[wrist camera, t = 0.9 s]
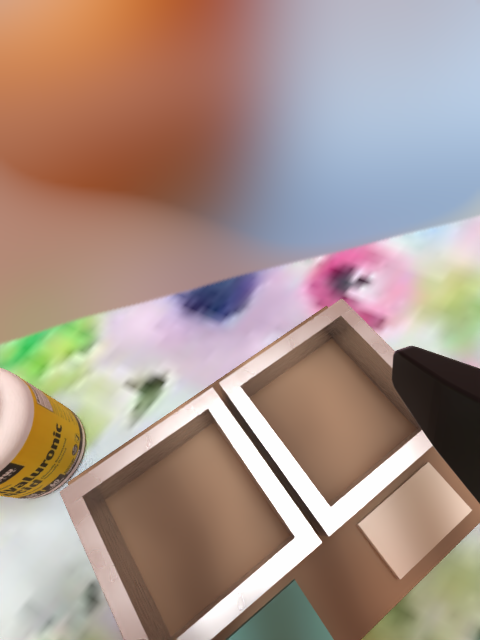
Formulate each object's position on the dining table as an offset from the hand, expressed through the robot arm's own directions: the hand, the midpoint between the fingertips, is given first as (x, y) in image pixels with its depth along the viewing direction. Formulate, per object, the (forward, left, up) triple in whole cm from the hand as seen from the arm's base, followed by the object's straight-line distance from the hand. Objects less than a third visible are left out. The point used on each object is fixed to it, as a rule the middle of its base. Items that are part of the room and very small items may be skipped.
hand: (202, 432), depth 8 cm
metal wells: (+1, -1, -14) cm, 14 cm away
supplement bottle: (0, +12, -16) cm, 20 cm away
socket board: (0, -2, -15) cm, 16 cm away
